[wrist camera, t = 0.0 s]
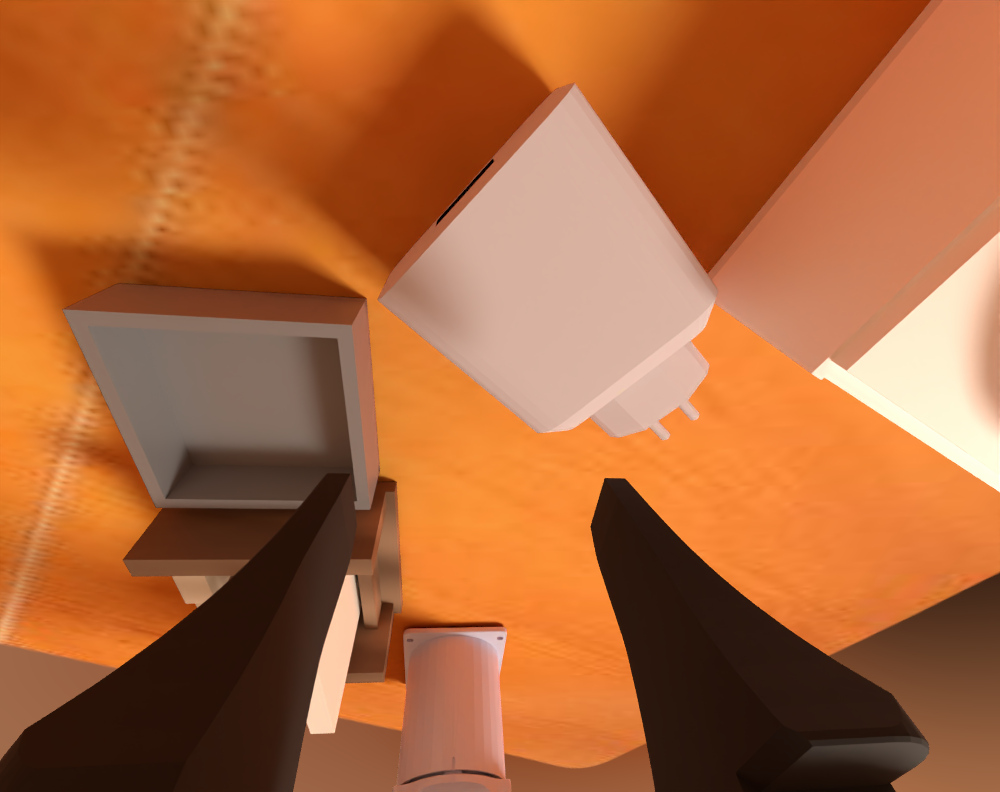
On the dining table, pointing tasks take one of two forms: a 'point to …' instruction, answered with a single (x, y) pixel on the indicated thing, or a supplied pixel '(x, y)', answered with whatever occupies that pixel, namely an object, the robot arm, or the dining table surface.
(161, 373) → the tray
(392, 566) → the rack
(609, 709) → the dining table surface
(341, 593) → the sheet
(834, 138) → the white lidded square jar
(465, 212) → the charger
